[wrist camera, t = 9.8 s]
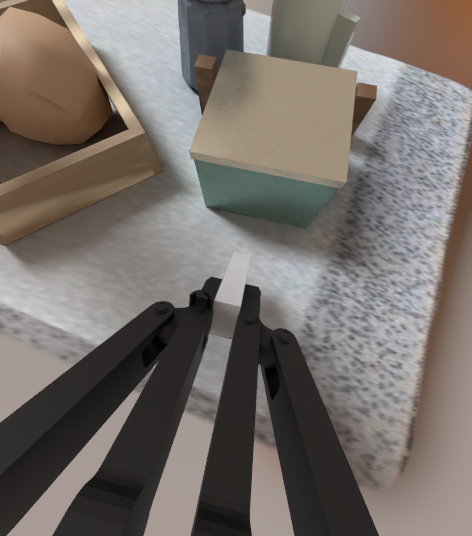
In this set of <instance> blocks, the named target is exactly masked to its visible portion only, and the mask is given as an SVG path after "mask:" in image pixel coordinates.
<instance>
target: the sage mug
mask: <svg viewBox="0 0 472 536" xmlns="http://www.w3.org/2000/svg"><path fill="white" fill-rule="evenodd" d="M346 1H347V0H273V4H272V12H271V20H270V29H269V37H268V45H267V53H266V56H270V57H276V58H281V59H287V60H293V61H299V62H305V63H311V64H317V65H323V66H329V67H335V68H340V66H341V64H342V61H343V59H344V57H345V54H346V52H347V50H348V47H349V45H350V43H351V40H352V38H353V36H354V33H355V31H356V28H357V26H358V24H359V21H360V19H361V18H360V17H358V16H356V15H354V14H351V13H349V12H347V11H345V10H344V7H345V4H346Z"/></svg>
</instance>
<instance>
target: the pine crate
mask: <svg viewBox="0 0 472 536" xmlns="http://www.w3.org/2000/svg"><path fill="white" fill-rule="evenodd" d="M9 7H13V8H17V9H20V10H24V11H28V12H32V13H36V14H39V15H41V16H43V17H45V18H47V19H49V20H51V21H53V22H55V23H57V24H59V25H61V26H63V27H65V28H66V29H68V30H69V32H70V33H71V34H72V36H73V37H74V38H75V40H76V41H77V42H78V44H79V45H80V47H81V48H82V49H83V51H84V52H85V53H86V55H87V56H88V58H89V59H90V60H91V62H92V63H93V64H94V66H95V70H96V74H97V76H98V78H99V80H100V82H101V83H102V85H103V87H104V89H105V91H106V93H107V95H108V97H109V98H110V100H111V102H112V103H113V105H114V107H115V108H116V110H117V112H118V114H119V115H120V117H121V119H122V120H123V122H124V124H125V125H126V127H127V129H128V130H126V131H123V132H121V133H119V134H116V135H114V136H112V137H109V138H107V139H105V140H102V141H100V142H98V143H95V144H93V145H91V146H88V147H86V148H84V149H81V150H79V151H77V152H74V153H72V154H70V155H67V156H65V157H63V158H60V159H58V160H56V161H53V162H51V163H49V164H46V165H44V166H42V167H39V168H37V169H35V170H32V171H30V172H27V173H25V174H23V175H20V176H18V177H16V178H13V179H11V180H9V181H6V182H4V183H2V184H0V244H1V245H4V246H5V245H7V244H9V243H11V242H13V241H15V240H18V239H20V238H22V237H24V236H26V235H28V234H30V233H32V232H35V231H37V230H39V229H41V228H43V227H45V226H47V225H49V224H51V223H54V222H56V221H58V220H60V219H62V218H64V217H66V216H68V215H70V214H73V213H75V212H77V211H79V210H81V209H83V208H85V207H87V206H89V205H92V204H94V203H96V202H98V201H100V200H102V199H104V198H106V197H108V196H111V195H113V194H115V193H117V192H119V191H121V190H123V189H125V188H127V187H130V186H132V185H134V184H136V183H138V182H140V181H142V180H144V179H146V178H149V177H151V176H153V175H155V174H157V173H159V172H161V171H163V168H162V166H161V164H160V162H159V160H158V158H157V156H156V153H155V151H154V149H153V147H152V145H151V143H150V141H149V139H148V137H147V135H146V133H145V131H144V129H143V128H142V126H141V125H140V123H139V121H138V120H137V118H136V116H135V115H134V113H133V112H132V110H131V108H130V107H129V105H128V104H127V102H126V100H125V99H124V97H123V96H122V94H121V92H120V91H119V89H118V88H117V86H116V84H115V83H114V81H113V80H112V78H111V76H110V75H109V73H108V72H107V70H106V68H105V67H104V65H103V63H102V62H101V60H100V59H99V57H98V55H97V54H96V52H95V51H94V49H93V47H92V46H91V44H90V43H89V41H88V39H87V38H86V36H85V35H84V33H83V31H82V30H81V28H80V27H79V25H78V23H77V22H76V20H75V19H74V17H73V15H72V14H71V12H70V10H69V9H68V7H67V6H66V4H65V2H64V1H63V0H8V1H5V2H1V3H0V16H1V15H2V14H3V13H4V12H5V11H6V10H7V9H8V8H9Z"/></svg>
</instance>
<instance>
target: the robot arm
mask: <svg viewBox="0 0 472 536" xmlns="http://www.w3.org/2000/svg"><path fill="white" fill-rule="evenodd" d="M250 257H251V256H250V255H246V254H241V253H237V252H233V255H232V257H231V260H230V262H229V265H228V267H227V270H226V272H225V275H224V277H223V279H219V278H214V277H210V278H209V279H207V280H206V282H205V284H204V286H203V288H202V289H201V290H197V291H194V292H192V293H191V294H190V301H189V307H186V308H174V306H173V305H172V304H171V303H170V302H166V301H160V302H156V303H154V304H152V305H151V306H150V307H148V308H147V309H146V310H144V311H143V312H142V313H141V314H139V315H138V316H137V317H135V318H134V319H133V320H132V321H130V322H129V323H128V324H126V325H125V326H124V327H123V328H121V329H120V330H119V331H117V332H116V333H115V334H114V335H112V336H111V337H110V338H108V339H107V340H106V341H105V342H103V343H102V344H101V345H99V346H98V347H97V348H96V349H94V350H93V351H92V352H90V353H89V354H88V355H87V356H85V357H84V358H83V359H81V360H80V361H79V362H78V363H76V364H75V365H74V366H72V367H71V368H70V369H69V370H68V371H66V372H65V373H64V374H62V375H61V376H60V377H59V378H57V379H56V380H54V381H53V382H52V383H51V384H49V385H48V386H47V387H45V388H44V389H43V390H42V391H41V392H39V393H38V394H37V395H35V396H34V397H33V398H31V399H30V400H29V401H28V402H26V403H25V404H24V405H22V406H21V407H20V408H19V409H17V410H16V411H15V412H14V413H12V414H11V415H10V416H8V417H7V418H6V419H4V420H3V421H2V422H0V536H6V535H7V534H8V533H9V532H10V531H11V530H12V529H13V528H14V527H15V526H16V524H17V523H18V522H19V521H20V520H21V519H22V518H23V517H24V515H25V514H26V513H27V512H28V511H29V509H30V508H31V507H32V506H33V505H34V504H35V503H36V501H37V500H38V499H39V498H40V497H41V496H42V495H43V493H44V492H45V491H46V490H47V489H48V488H49V487H50V485H51V484H52V483H53V482H54V481H55V480H56V478H57V477H58V476H59V475H60V474H61V473H62V472H63V470H64V469H65V468H66V467H67V466H68V465H69V463H70V462H71V461H72V460H73V459H74V458H75V457H76V455H77V454H78V453H79V452H80V451H81V449H82V448H83V447H84V446H85V445H86V444H87V443H88V442H89V440H90V439H91V438H92V437H93V436H94V435H95V433H96V432H97V431H98V430H99V429H100V428H101V427H102V425H103V424H104V423H105V422H106V421H107V419H108V418H109V417H110V416H111V415H112V414H113V413H114V411H115V410H116V409H117V408H118V407H119V406H120V405H121V403H122V402H123V401H124V400H125V399H126V398H127V397H128V395H129V394H130V393H131V392H132V391H133V390H134V388H135V387H136V386H137V385H138V384H139V383H140V382H141V380H142V379H143V378H144V377H145V376H146V375H147V373H148V372H149V371H150V370H151V369H152V368H153V367H154V365H155V364H156V363H157V362H158V361H159V362H158V364H157V365H156V367H155V369H154V371H153V373H152V374H151V376H150V378H149V380H148V382H147V383H146V385H145V387H144V389H143V391H142V392H141V394H140V396H139V398H138V400H137V402H136V403H135V405H134V407H133V409H132V411H131V412H130V414H129V416H128V418H127V420H126V422H125V423H124V425H123V427H122V429H121V431H120V433H119V434H118V436H117V438H116V440H115V441H114V443H113V445H112V447H111V449H110V451H109V452H108V454H107V456H106V458H105V460H104V461H103V463H102V465H101V467H100V468H99V470H98V472H97V473H96V474H95V475H94V477H93V478H92V479H91V480H89V481H88V482H87V483H86V484H85V485H84V486H83V488H82V489H81V490H80V491H79V493H78V494H77V495H76V497H75V498H74V500H73V502H72V503H71V505H70V506H69V508H68V510H67V512H66V513H65V515H64V516H63V518H62V520H61V522H60V523H59V525H58V527H57V529H56V530H55V532H54V534H53V535H52V536H143V535H144V532H145V528H146V525H147V521H148V517H149V512H150V509H151V506H152V502H153V499H154V496H155V494H156V491H157V488H158V485H159V482H160V479H161V476H162V473H163V470H164V467H165V464H166V461H167V458H168V456H169V452H170V450H171V447H172V444H173V441H174V438H175V435H176V432H177V429H178V426H179V423H180V420H181V417H182V414H183V412H184V409H185V406H186V403H187V400H188V397H189V394H190V391H191V388H192V385H193V382H194V379H195V376H196V373H197V371H198V368H199V365H200V362H201V359H202V356H203V353H204V350H205V347H206V344H207V341H208V335H209V332H210V334H213V335H217V336H221V337H225V338H230V339H232V344H231V348H230V352H229V358H228V362H227V367H226V372H225V376H224V381H223V386H222V391H221V395H220V400H219V405H218V410H217V414H216V419H215V424H214V429H213V433H212V438H211V443H210V448H209V452H208V457H207V462H206V466H205V471H204V476H203V481H202V485H201V490H200V495H199V499H198V504H197V509H196V514H195V519H194V523H193V528H192V532H191V536H252V533H251V526H250V498H251V481H252V463H253V446H254V428H255V411H256V393H257V376H258V364H259V365H261V370H262V375H263V380H264V385H265V390H266V395H267V400H268V405H269V410H270V415H271V420H272V425H273V430H274V435H275V440H276V445H277V450H278V455H279V460H280V465H281V470H282V475H283V480H284V485H285V490H286V495H287V500H288V505H289V510H290V515H291V520H292V525H293V530H294V535H295V536H379V535H378V532H377V530H376V528H375V525H374V523H373V520H372V518H371V516H370V513H369V511H368V509H367V506H366V504H365V502H364V499H363V497H362V494H361V492H360V490H359V487H358V485H357V482H356V480H355V478H354V475H353V473H352V470H351V468H350V466H349V463H348V461H347V459H346V456H345V454H344V451H343V449H342V447H341V444H340V442H339V440H338V437H337V435H336V432H335V430H334V428H333V425H332V423H331V421H330V418H329V416H328V413H327V411H326V409H325V406H324V404H323V401H322V399H321V397H320V394H319V392H318V390H317V387H316V385H315V382H314V380H313V378H312V375H311V373H310V371H309V368H308V366H307V363H306V361H305V359H304V356H303V354H302V351H301V349H300V347H299V344H298V342H297V340H296V338H295V336H294V335H293V334H292V333H291V332H290V331H288V330H286V329H282V328H279V329H276V330H274V331H273V330H271V329H269V328H267V327H266V326H264V325H263V324H262V322H261V321H260V318H259V312H260V296H261V291H260V289H259V287H256V286H252V285H247V284H245V282H246V277H247V272H248V267H249V262H250Z"/></svg>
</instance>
